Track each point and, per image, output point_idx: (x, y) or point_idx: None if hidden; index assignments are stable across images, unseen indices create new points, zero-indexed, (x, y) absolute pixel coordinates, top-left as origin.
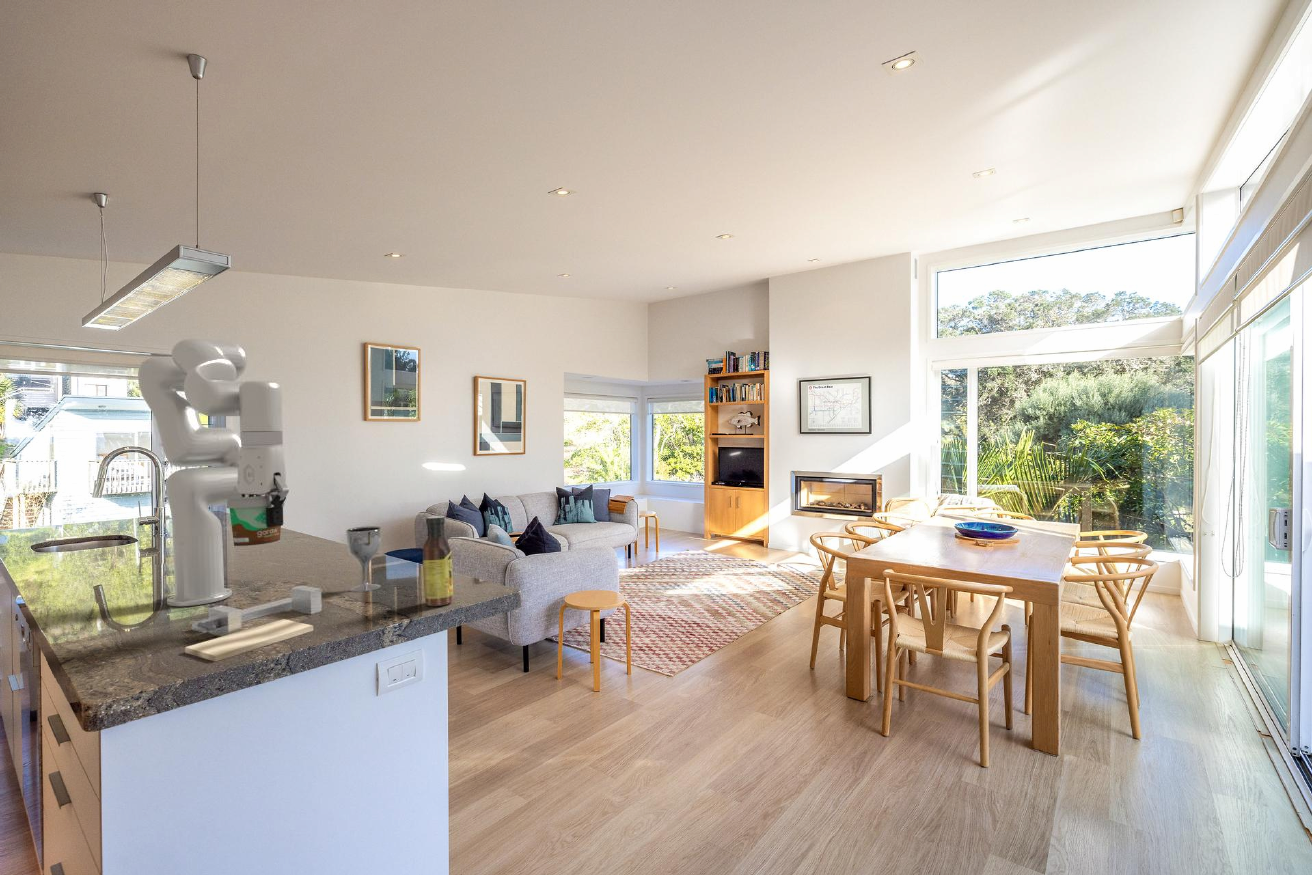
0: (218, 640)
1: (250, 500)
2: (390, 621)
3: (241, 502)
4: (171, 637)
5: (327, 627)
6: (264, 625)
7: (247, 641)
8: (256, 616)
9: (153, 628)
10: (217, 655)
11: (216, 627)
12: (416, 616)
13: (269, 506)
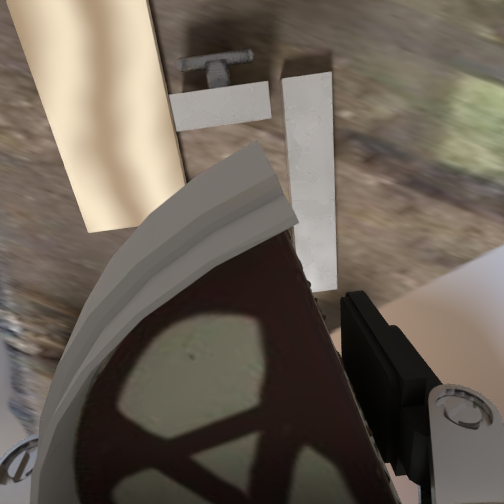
0: (136, 59)
1: (48, 406)
2: (41, 330)
3: (90, 305)
4: (308, 15)
5: (94, 253)
6: (174, 174)
7: (73, 99)
8: (290, 202)
9: (433, 16)
10: (8, 7)
11: (181, 71)
12: (38, 366)
13: (37, 447)
